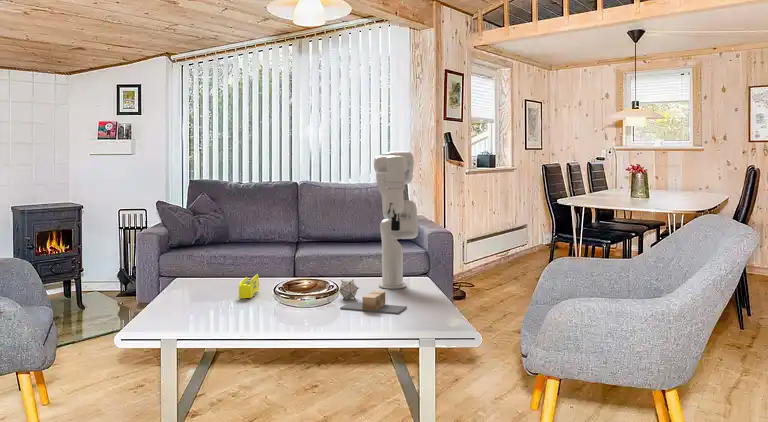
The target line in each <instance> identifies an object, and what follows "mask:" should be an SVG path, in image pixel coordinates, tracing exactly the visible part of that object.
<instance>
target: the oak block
mask: <svg viewBox="0 0 768 422" xmlns="http://www.w3.org/2000/svg"><path fill="white" fill-rule="evenodd" d="M361 300H362V301H361V303H362V310H371V311H375V310H377V309H378V308H380V307H381V306H383V305H384V304H385V305H386V291H385V290H384V291H382V290H372V291H371V292H369V293H367V294H365V295H363V296H362V299H361Z"/></svg>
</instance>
